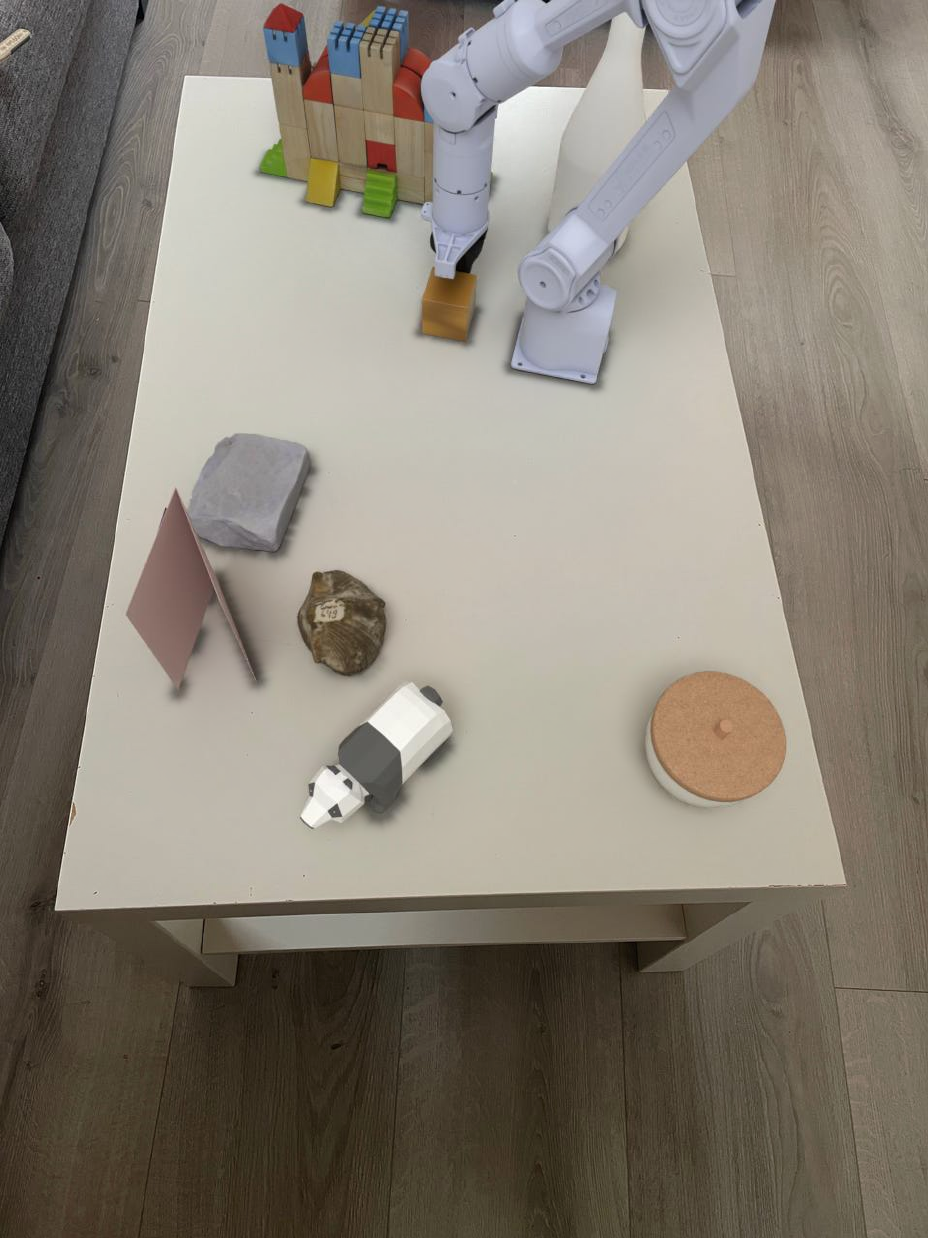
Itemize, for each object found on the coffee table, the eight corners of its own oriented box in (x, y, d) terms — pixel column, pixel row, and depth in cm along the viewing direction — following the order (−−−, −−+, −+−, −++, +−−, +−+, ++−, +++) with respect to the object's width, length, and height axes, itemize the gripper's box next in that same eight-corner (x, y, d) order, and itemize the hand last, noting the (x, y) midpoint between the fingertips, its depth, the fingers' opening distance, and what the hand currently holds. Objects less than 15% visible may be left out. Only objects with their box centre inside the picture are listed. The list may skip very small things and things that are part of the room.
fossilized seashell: (304, 562, 79) (277, 665, 76) (332, 545, 73) (304, 656, 71) (375, 588, 82) (352, 688, 80) (408, 575, 77) (383, 681, 74)
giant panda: (412, 698, 76) (411, 655, 68) (458, 738, 75) (463, 699, 66) (291, 819, 71) (273, 788, 62) (338, 865, 69) (325, 840, 61)
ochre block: (474, 309, 97) (477, 274, 93) (465, 341, 95) (467, 307, 91) (432, 301, 98) (432, 266, 93) (422, 333, 95) (421, 299, 91)
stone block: (192, 549, 84) (285, 558, 82) (170, 519, 80) (268, 528, 77) (232, 457, 89) (321, 463, 87) (214, 424, 85) (306, 430, 83)
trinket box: (622, 707, 77) (646, 666, 68) (738, 700, 77) (776, 658, 69) (643, 827, 72) (672, 799, 63) (766, 817, 73) (811, 788, 64)
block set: (498, 161, 109) (512, -4, 92) (473, 235, 103) (483, 72, 85) (286, 121, 111) (261, -49, 93) (249, 191, 104) (215, 23, 87)
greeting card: (207, 577, 81) (164, 485, 67) (284, 591, 80) (256, 500, 67) (168, 688, 76) (113, 612, 62) (250, 703, 75) (212, 629, 62)
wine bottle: (530, 232, 103) (568, -51, 76) (584, 199, 106) (639, -85, 80) (586, 276, 101) (646, -3, 74) (640, 240, 104) (716, -40, 77)
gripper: (439, 123, 88) (437, 234, 100) (404, 216, 81) (406, 323, 93) (506, 135, 87) (496, 246, 99) (476, 230, 81) (469, 336, 93)
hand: (456, 284), depth 96 cm, fingers closed
